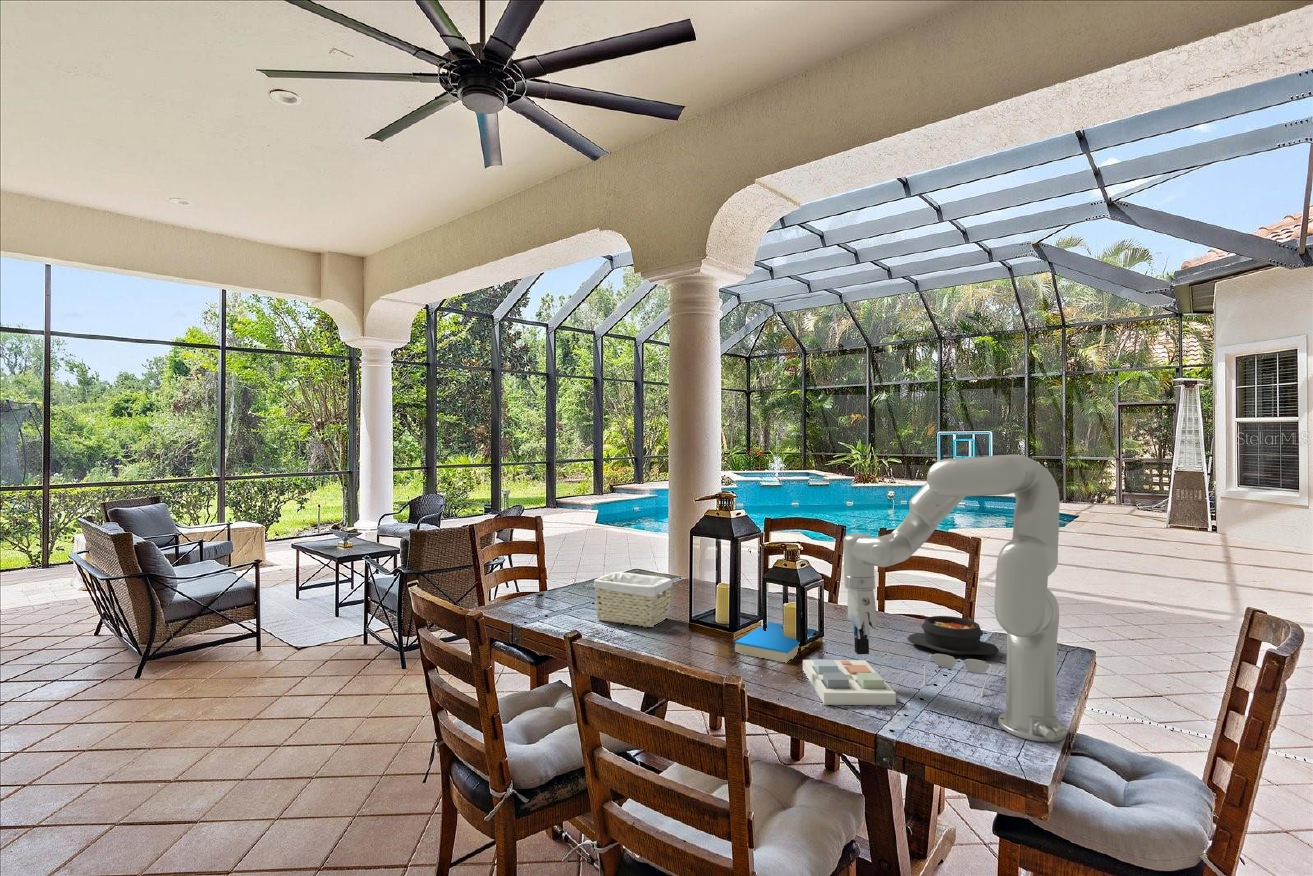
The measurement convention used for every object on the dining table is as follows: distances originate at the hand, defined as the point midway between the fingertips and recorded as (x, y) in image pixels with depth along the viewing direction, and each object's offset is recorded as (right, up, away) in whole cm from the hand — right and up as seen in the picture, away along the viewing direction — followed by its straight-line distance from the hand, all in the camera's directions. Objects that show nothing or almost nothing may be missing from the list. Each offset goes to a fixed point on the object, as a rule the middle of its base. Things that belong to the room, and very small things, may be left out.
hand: (861, 653), depth 167 cm
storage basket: (-61, -8, +58) cm, 85 cm away
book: (-17, -9, +29) cm, 35 cm away
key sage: (-1, -5, -9) cm, 10 cm away
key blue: (-9, -5, +1) cm, 11 cm away
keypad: (-5, -8, -3) cm, 10 cm away
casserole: (+36, -8, +27) cm, 46 cm away
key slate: (-9, -5, -9) cm, 14 cm away
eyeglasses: (+26, -9, +2) cm, 27 cm away
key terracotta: (-1, -7, +1) cm, 7 cm away
